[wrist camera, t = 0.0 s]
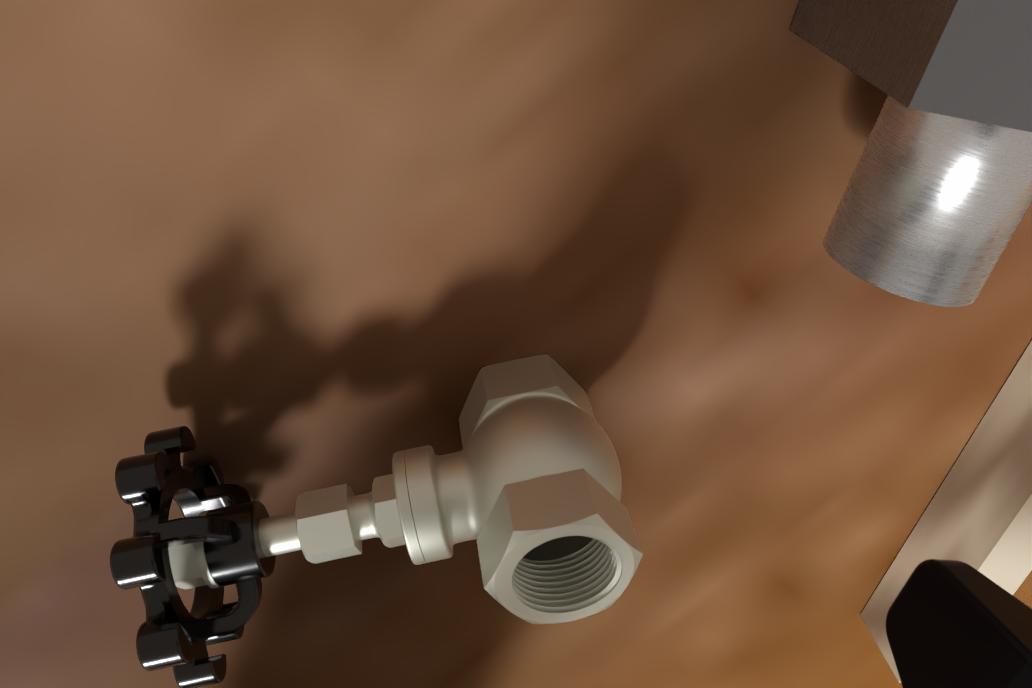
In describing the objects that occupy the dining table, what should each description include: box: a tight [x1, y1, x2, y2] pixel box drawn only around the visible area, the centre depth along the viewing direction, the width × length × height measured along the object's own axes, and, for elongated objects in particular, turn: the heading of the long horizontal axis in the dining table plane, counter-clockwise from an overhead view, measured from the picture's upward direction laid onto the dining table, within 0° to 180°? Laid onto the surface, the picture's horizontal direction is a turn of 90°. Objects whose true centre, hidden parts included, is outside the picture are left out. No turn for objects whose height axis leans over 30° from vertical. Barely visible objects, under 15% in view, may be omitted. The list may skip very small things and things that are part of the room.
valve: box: [110, 354, 643, 688], centre depth 23 cm, size 7×7×12 cm
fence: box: [860, 341, 1032, 683], centre depth 28 cm, size 18×2×3 cm, turn 167°
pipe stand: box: [789, 0, 1032, 307], centre depth 19 cm, size 8×6×6 cm
